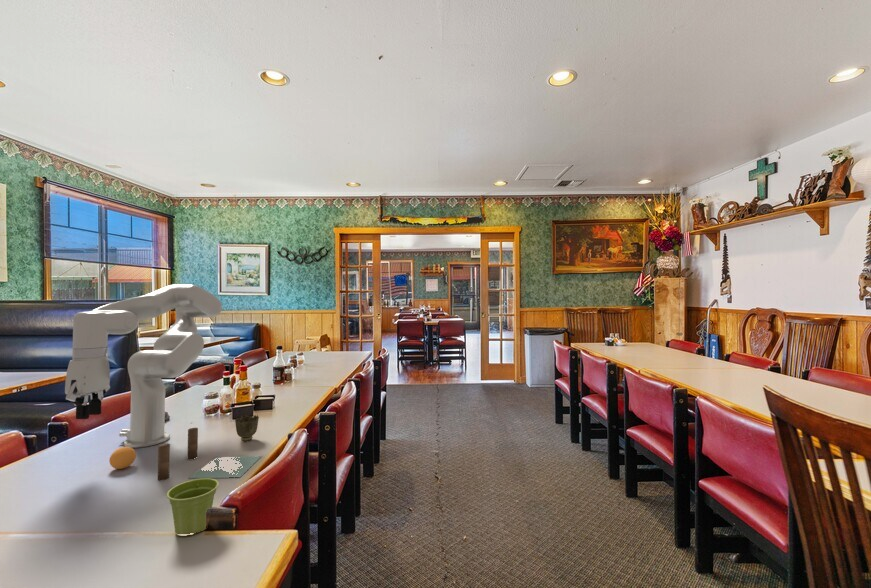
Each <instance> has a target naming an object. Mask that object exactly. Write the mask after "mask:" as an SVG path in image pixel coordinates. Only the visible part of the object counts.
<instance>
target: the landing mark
mask: <svg viewBox="0 0 871 588" xmlns="http://www.w3.org/2000/svg"><path fill="white" fill-rule="evenodd" d="M217 457H218V458H219V457H220V458H221V457H222V456H214V458H217ZM233 457H234V456H233ZM239 457H240V458H238V457H237V458H236V457H235V458H236V459H235V458H234V459H235V460H236V461H239V460H240V461H239V462H240V463H241V464H242V466H243V468H241V467H242V466H240V467H238V468H239V469H237V471H235V470H233V472H234V473H235V474H233V475H232V473H233V472H232V473H230V474H229V472H226V471H223V470H222V469H220V470H219V468H218V467H219V461H220V460H219V459H218V458H217V459H218V460H219V461H218V460H217V459H216V460H214V458H213V460H214V462H215V463H216V465H217V466H215V467H217V470H216V469H214V471H212V470H211V471H212V472H211V471H209V470H208V471H207V470H206V471H204V470H203V471H202V470H201V468H199V469H200V470H199V469H198V470H196V471H195V472H194V473H192V475H190V476H189V477H188V479H189V480H190V479H203V478H210V479H230V478H229V477H234V478H233V479H236V478H235V477H239V478H238V479H240V478H241V477H243V476H244V474H246V472H247V470H248V469H249V468H250V467H251V466H252V465H253V464H254V465H255V464H256V463H257V462H258V461H259V460H260V459H261V458H262V457H263V456H262V455H261V456H259V455H256V456H255V455H253V456H252V455H251V456H250V455H248V456H246V455H245V456H244V455H243V456H241V455H239ZM231 459H232V458H231ZM234 459H233V460H234ZM237 459H238V460H237ZM211 460H212V459H211ZM213 460H212V461H213ZM221 461H222V460H221ZM227 461H228V460H227ZM209 462H210V461H209ZM209 462H207V463H209ZM210 463H211V462H210ZM210 463H209V464H210ZM240 463H239V464H240ZM235 464H237V463H235ZM254 465H253V466H254ZM253 466H252V467H253ZM215 467H214V468H215ZM252 467H251V468H252ZM220 468H221V467H220ZM223 468H224V467H223ZM240 468H241V469H240ZM251 468H250V469H251ZM211 469H212V468H211ZM250 469H249V470H250ZM231 470H232V469H231ZM249 470H248V471H249ZM238 471H239V472H238ZM237 473H238V474H237ZM236 474H237V475H236Z"/></svg>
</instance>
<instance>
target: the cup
mask: <svg viewBox="0 0 871 588" xmlns="http://www.w3.org/2000/svg"><path fill="white" fill-rule="evenodd" d="M259 418H260V417H259V415H255V414H254V415H253V416H251V414H249V415H248V414H245V415H244V416H243V415H241V416H238V417H236V418H235V419H234V422H235V423H234V424H235V431H236V434H237V436H238V437H240V440H241V442H242V441H243V443H246V442H247V441H248V442H250V441H252V440H253V438H254V437H253V436H254V435H255V434H256V432H257V430H258V427H259V426H258V425H259Z"/></svg>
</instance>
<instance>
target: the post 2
mask: <svg viewBox="0 0 871 588" xmlns="http://www.w3.org/2000/svg"><path fill="white" fill-rule="evenodd" d="M198 441H199V428H198V427H192V428H188V429H187V458H188V459H193V460H195V459H194V458H196V457H197V458H198V454H199V453H198V447H199V444H198V443H199V442H198ZM197 458H196V459H197ZM188 459H187V460H188Z"/></svg>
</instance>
